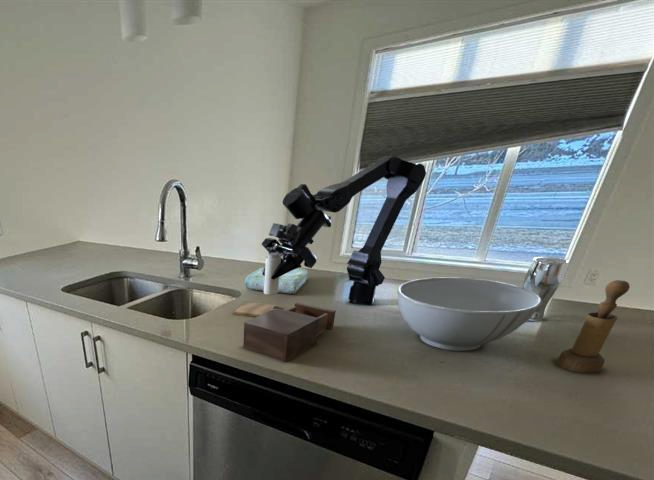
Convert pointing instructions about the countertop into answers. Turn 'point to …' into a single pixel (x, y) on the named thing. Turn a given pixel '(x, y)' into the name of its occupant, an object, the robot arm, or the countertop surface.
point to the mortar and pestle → (594, 334)
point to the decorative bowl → (464, 310)
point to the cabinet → (280, 333)
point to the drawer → (316, 315)
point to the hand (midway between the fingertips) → (267, 276)
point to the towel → (286, 282)
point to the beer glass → (544, 280)
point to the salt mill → (270, 267)
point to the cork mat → (254, 309)
